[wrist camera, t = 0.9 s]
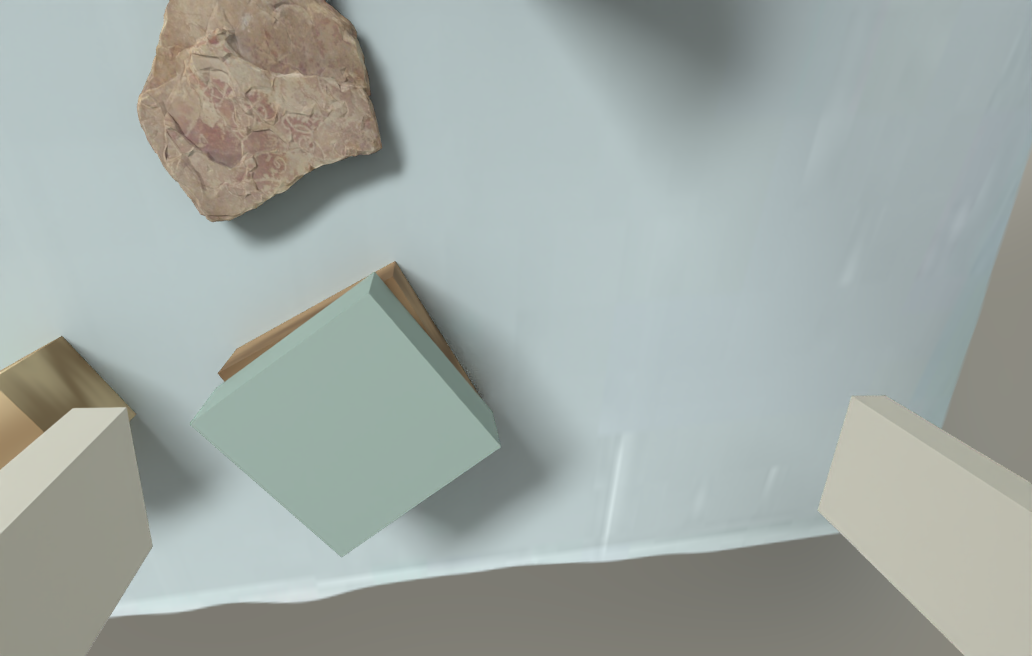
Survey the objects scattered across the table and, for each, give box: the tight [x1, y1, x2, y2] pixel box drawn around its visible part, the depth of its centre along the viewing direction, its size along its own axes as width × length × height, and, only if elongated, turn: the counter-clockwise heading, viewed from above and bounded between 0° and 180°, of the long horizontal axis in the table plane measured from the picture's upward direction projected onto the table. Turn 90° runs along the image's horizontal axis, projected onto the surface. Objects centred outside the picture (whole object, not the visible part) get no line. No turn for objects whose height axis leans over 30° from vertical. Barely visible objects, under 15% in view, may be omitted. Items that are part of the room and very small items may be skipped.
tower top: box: [190, 272, 501, 557], centre depth 31 cm, size 11×11×4 cm
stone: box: [137, 0, 382, 222], centre depth 29 cm, size 12×12×3 cm
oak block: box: [0, 336, 136, 470], centre depth 31 cm, size 6×6×6 cm
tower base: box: [218, 261, 481, 398], centre depth 35 cm, size 11×11×4 cm
